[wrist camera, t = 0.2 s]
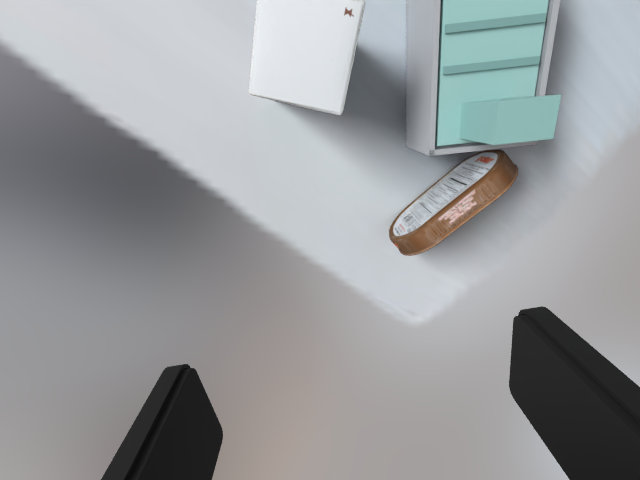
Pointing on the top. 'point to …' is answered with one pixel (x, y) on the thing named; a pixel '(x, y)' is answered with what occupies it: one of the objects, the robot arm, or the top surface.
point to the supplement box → (305, 51)
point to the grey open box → (425, 75)
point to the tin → (452, 201)
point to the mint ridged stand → (492, 73)
